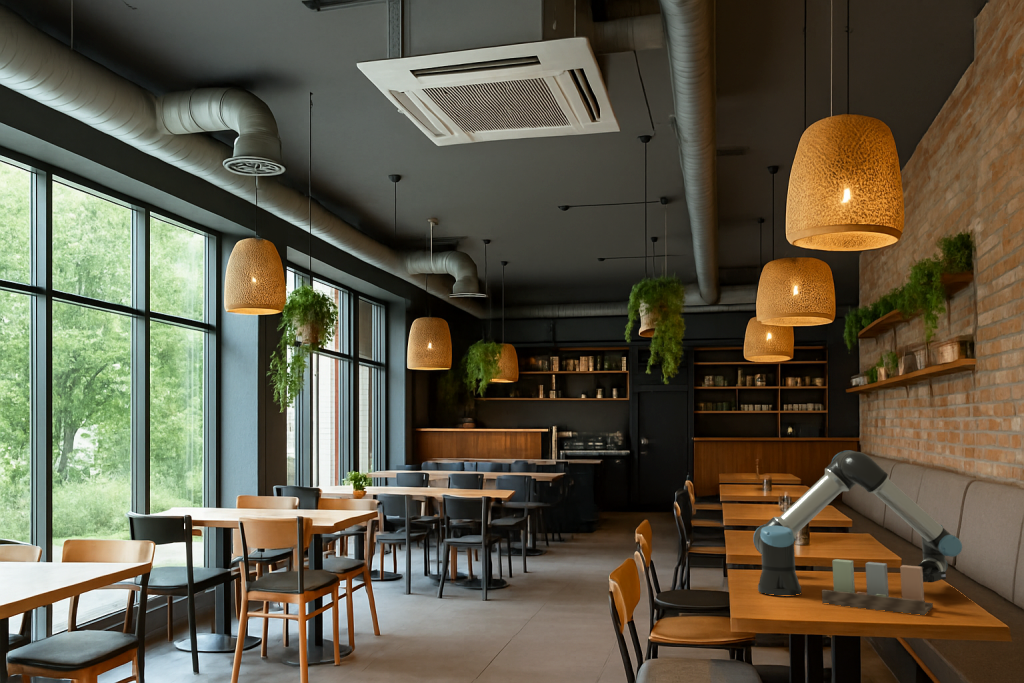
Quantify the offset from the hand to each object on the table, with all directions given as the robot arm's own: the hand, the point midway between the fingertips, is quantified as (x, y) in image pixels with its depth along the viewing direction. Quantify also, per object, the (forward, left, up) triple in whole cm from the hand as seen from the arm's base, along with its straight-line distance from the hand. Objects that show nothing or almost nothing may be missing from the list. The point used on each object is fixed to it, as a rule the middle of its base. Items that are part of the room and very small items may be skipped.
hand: (917, 581), depth 278 cm
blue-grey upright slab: (-7, -12, -6) cm, 15 cm away
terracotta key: (+3, -8, -6) cm, 10 cm away
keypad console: (-6, -14, -8) cm, 17 cm away
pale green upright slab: (-17, -16, -6) cm, 24 cm away
